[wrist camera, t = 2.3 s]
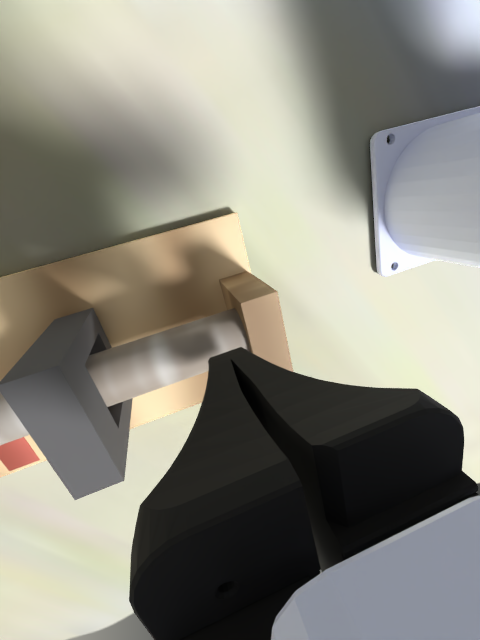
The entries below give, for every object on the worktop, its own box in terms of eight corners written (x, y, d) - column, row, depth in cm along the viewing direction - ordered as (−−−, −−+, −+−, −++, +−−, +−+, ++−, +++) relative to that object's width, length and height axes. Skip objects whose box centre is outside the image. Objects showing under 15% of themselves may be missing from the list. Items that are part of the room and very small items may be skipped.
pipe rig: (234, 212, 16) (267, 214, 11) (271, 370, 20) (306, 419, 15) (-217, 337, 13) (-423, 409, 8) (-65, 494, 17) (-146, 602, 12)
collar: (93, 307, 15) (58, 365, 9) (133, 393, 17) (124, 480, 11) (54, 319, 14) (-5, 386, 9) (100, 404, 16) (74, 500, 11)
